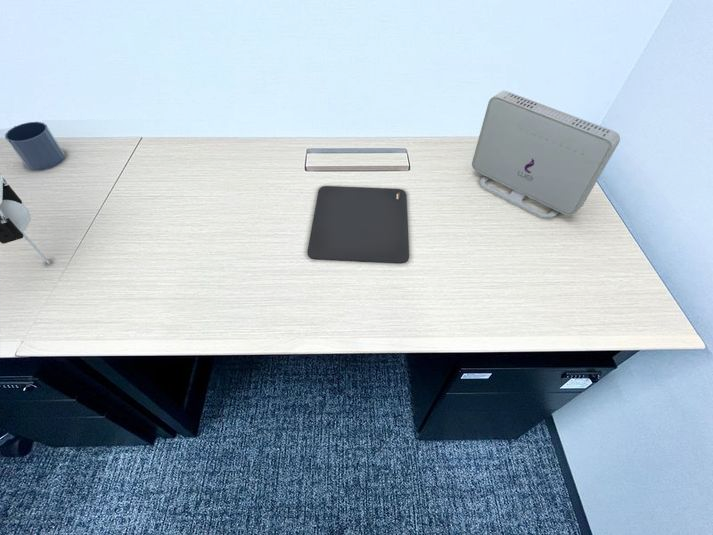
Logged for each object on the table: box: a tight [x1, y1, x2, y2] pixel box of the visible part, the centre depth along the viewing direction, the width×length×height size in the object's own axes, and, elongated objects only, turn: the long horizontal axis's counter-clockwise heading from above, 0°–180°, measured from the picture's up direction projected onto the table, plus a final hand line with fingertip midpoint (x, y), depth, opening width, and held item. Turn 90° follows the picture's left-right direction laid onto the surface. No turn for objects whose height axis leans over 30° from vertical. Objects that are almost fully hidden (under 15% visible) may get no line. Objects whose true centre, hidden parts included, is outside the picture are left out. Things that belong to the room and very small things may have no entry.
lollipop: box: [0, 200, 51, 265], centre depth 72 cm, size 6×6×15 cm
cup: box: [4, 121, 66, 172], centre depth 96 cm, size 9×9×8 cm
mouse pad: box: [307, 185, 410, 264], centre depth 86 cm, size 23×20×1 cm
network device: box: [471, 90, 621, 220], centre depth 85 cm, size 26×9×20 cm, turn 47°
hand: (13, 222), depth 69 cm, fingers open, 9 cm apart
